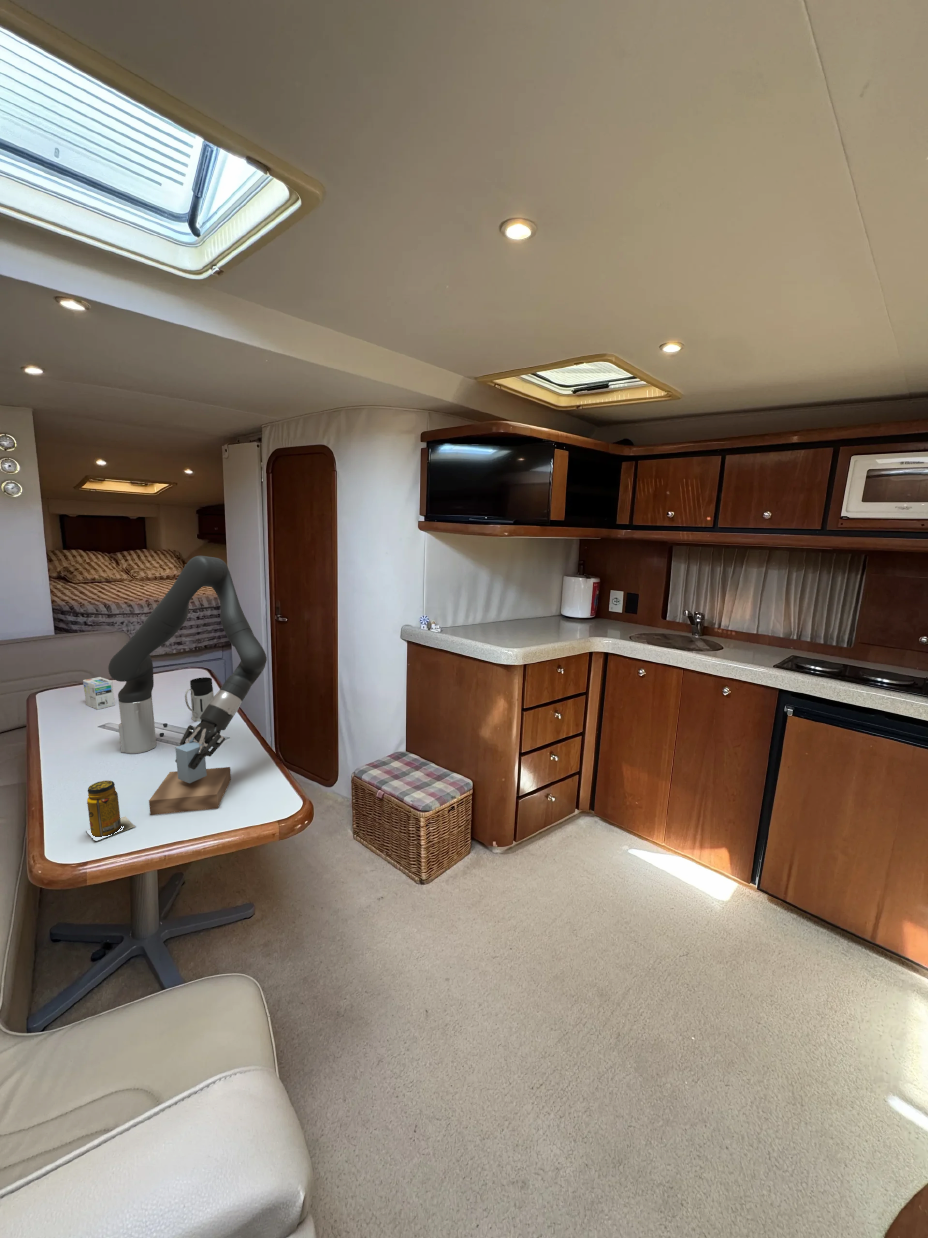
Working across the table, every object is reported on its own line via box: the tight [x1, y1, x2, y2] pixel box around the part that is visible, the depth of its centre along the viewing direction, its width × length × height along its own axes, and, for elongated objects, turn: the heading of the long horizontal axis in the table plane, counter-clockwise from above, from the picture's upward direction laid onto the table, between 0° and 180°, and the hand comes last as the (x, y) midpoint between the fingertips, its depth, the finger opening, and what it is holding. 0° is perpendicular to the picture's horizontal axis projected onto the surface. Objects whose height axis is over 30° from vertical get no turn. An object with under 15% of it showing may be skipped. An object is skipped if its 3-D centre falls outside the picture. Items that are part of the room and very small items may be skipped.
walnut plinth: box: [148, 766, 232, 816], centre depth 140 cm, size 16×16×4 cm
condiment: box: [86, 780, 136, 837], centre depth 124 cm, size 7×8×12 cm
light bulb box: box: [82, 676, 116, 710], centre depth 209 cm, size 11×7×11 cm, turn 58°
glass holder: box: [184, 676, 215, 722], centre depth 195 cm, size 9×14×15 cm, turn 174°
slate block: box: [175, 742, 207, 783], centre depth 139 cm, size 5×5×9 cm
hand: (184, 765), depth 137 cm, fingers closed on slate block, 5 cm apart
